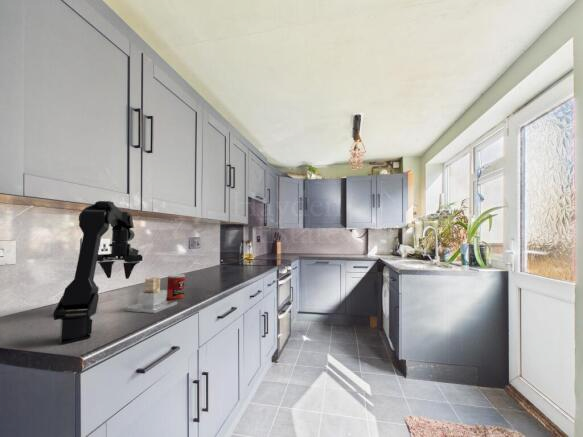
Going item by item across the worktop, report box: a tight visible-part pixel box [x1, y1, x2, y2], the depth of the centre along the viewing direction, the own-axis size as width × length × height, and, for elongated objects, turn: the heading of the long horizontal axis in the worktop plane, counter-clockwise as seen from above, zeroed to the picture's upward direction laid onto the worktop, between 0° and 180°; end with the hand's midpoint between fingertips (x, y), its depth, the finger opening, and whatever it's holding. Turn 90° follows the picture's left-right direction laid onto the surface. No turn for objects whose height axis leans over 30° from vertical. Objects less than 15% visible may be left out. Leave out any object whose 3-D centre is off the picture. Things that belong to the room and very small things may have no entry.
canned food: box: [166, 273, 186, 301], centre depth 125 cm, size 8×8×11 cm
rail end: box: [144, 277, 161, 293], centre depth 109 cm, size 4×4×9 cm
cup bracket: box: [123, 289, 178, 314], centre depth 109 cm, size 14×14×6 cm
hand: (118, 278), depth 109 cm, fingers open, 9 cm apart
